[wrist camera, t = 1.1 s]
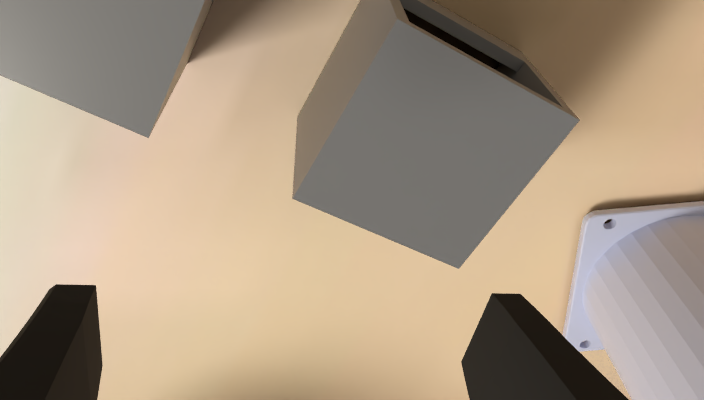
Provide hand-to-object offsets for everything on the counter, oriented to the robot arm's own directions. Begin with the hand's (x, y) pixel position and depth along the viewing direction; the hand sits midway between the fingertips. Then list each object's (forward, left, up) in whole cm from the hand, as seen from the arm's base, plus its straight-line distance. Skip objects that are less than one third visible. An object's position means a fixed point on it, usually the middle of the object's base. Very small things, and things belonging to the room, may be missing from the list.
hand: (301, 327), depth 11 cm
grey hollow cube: (-3, 0, -12) cm, 12 cm away
